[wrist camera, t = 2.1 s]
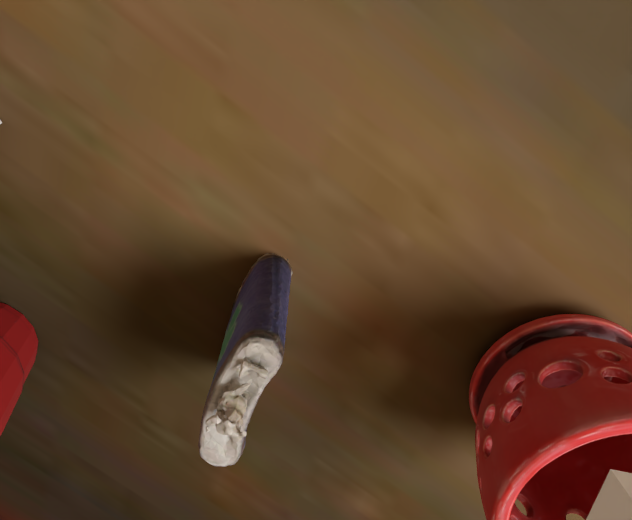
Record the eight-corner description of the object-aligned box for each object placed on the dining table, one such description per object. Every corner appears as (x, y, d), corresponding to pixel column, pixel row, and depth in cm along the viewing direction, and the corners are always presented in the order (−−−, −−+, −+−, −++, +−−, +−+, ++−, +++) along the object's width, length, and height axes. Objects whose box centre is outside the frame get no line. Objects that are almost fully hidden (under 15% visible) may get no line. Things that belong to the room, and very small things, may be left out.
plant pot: (659, 280, 34) (811, 413, 23) (631, 440, 40) (743, 606, 29) (446, 299, 35) (498, 436, 24) (448, 452, 41) (492, 619, 30)
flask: (254, 372, 38) (228, 502, 28) (213, 359, 38) (172, 487, 28) (300, 260, 34) (288, 365, 25) (255, 244, 34) (225, 345, 24)
